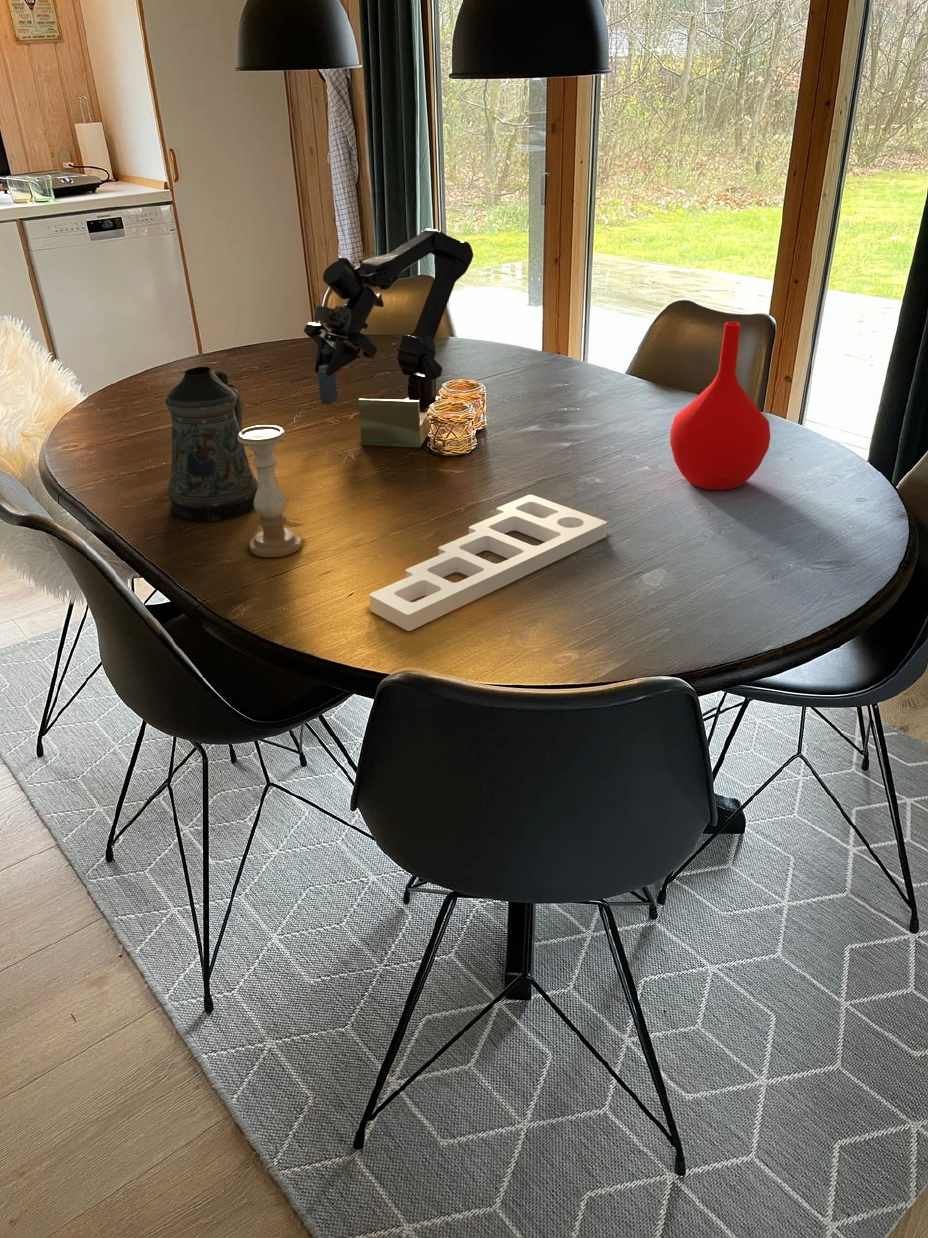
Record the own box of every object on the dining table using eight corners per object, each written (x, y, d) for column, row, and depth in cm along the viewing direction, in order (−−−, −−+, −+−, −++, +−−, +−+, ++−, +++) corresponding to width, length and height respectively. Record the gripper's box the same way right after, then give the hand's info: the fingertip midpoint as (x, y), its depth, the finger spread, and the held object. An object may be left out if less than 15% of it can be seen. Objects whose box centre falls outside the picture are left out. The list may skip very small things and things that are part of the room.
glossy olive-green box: (373, 430, 216) (370, 386, 211) (429, 432, 214) (428, 387, 209) (361, 445, 207) (358, 399, 202) (420, 447, 205) (418, 401, 200)
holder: (408, 631, 138) (407, 615, 136) (332, 590, 149) (331, 575, 148) (607, 536, 164) (608, 521, 163) (530, 507, 176) (530, 494, 174)
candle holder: (277, 562, 158) (262, 444, 148) (238, 551, 162) (221, 435, 152) (312, 542, 165) (299, 428, 154) (273, 532, 169) (259, 420, 159)
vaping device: (340, 398, 215) (334, 344, 209) (329, 405, 211) (323, 350, 205) (329, 397, 216) (323, 343, 210) (319, 404, 211) (313, 349, 205)
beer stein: (168, 526, 172) (142, 388, 160) (174, 486, 188) (151, 359, 176) (261, 516, 175) (243, 380, 162) (259, 478, 191) (242, 352, 179)
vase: (658, 493, 181) (672, 332, 166) (674, 460, 195) (688, 309, 181) (758, 504, 175) (782, 338, 160) (767, 469, 190) (789, 315, 175)
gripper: (305, 284, 209) (271, 345, 208) (362, 294, 198) (326, 359, 197) (336, 314, 218) (303, 373, 217) (392, 326, 207) (358, 388, 206)
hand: (321, 373), depth 209 cm, fingers closed on vaping device, 3 cm apart
